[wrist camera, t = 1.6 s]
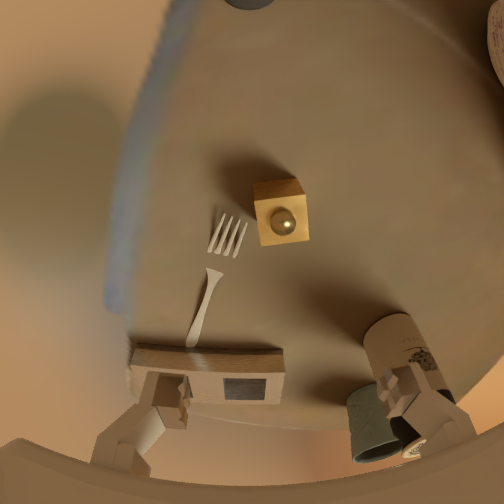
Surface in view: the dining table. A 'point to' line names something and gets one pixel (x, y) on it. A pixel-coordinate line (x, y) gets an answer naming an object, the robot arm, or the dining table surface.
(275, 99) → the dining table surface
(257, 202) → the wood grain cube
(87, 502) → the robot arm
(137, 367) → the tan windowed box
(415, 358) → the travel mug
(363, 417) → the green cup
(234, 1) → the sundae
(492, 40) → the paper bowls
